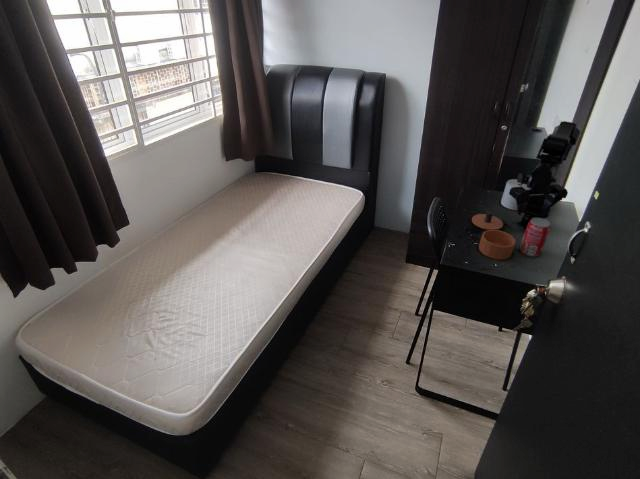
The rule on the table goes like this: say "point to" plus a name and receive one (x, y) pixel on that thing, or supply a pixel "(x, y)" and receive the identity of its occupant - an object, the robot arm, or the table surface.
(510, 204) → the toilet tissue
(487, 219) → the pot lid
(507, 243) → the pot
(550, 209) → the robot arm
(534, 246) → the soda can
